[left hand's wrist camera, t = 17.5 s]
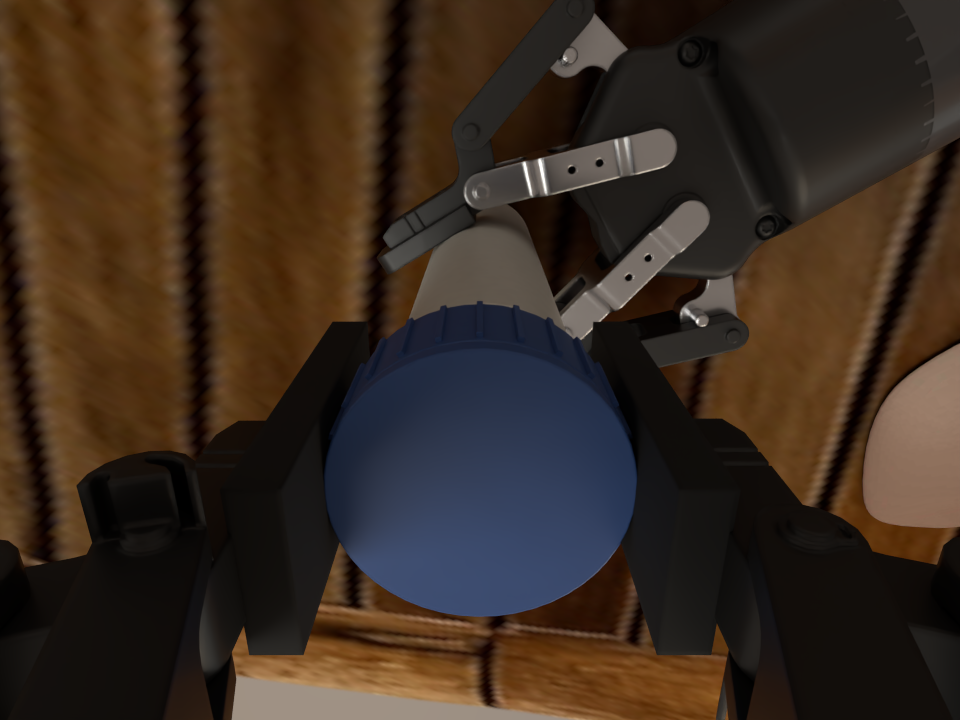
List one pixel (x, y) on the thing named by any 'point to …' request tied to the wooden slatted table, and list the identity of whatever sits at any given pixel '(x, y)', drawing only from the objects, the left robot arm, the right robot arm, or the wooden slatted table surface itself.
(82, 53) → the wooden slatted table surface
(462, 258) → the white bottle
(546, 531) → the lid
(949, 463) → the anatomical model
